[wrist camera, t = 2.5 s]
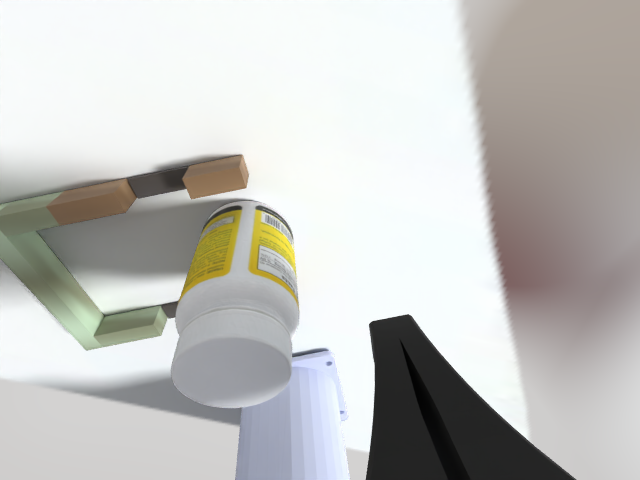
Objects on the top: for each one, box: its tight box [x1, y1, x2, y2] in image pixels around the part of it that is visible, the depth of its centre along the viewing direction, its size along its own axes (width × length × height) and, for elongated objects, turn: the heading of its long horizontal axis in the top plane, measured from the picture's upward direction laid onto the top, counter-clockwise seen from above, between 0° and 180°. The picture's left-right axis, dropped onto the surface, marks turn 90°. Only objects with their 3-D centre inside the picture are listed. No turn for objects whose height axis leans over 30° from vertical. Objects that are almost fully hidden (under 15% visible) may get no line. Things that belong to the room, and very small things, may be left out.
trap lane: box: [0, 155, 249, 350], centre depth 17 cm, size 9×12×2 cm
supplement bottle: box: [171, 201, 299, 408], centre depth 15 cm, size 5×5×8 cm
